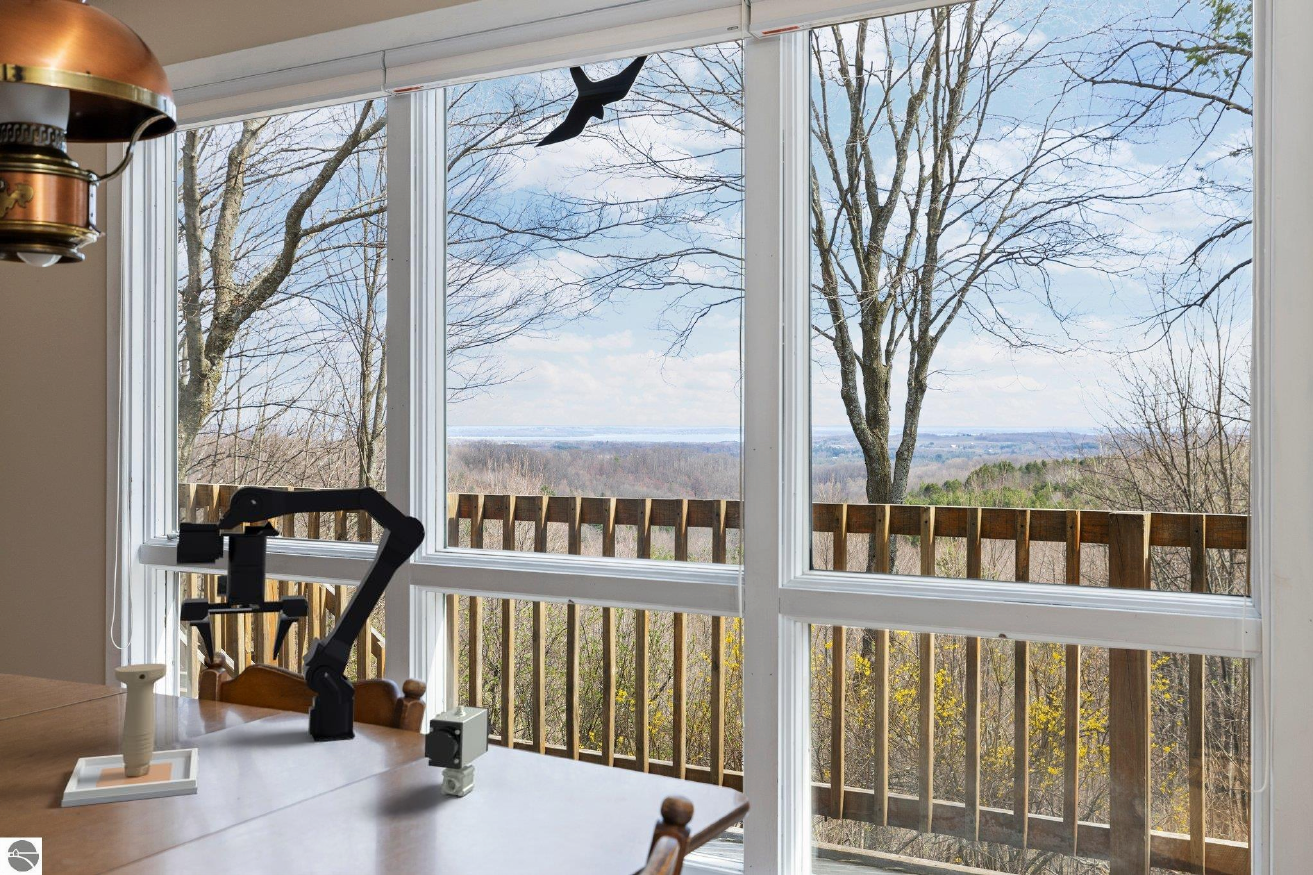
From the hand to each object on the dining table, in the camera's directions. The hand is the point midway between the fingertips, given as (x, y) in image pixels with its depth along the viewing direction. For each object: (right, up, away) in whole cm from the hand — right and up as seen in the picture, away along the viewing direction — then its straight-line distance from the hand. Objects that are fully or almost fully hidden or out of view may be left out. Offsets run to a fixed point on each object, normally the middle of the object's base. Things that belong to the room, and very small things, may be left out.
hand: (243, 661), depth 159 cm
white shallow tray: (-7, -12, -20) cm, 24 cm away
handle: (-7, -12, -19) cm, 24 cm away
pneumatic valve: (+38, -14, -20) cm, 45 cm away
